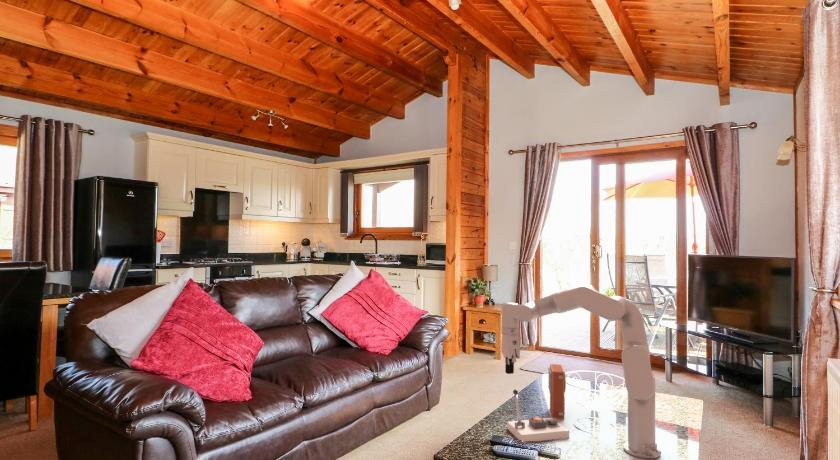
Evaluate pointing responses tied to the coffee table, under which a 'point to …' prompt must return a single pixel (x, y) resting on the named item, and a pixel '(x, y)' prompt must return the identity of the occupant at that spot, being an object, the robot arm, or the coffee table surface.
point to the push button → (537, 419)
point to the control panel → (557, 391)
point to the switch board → (537, 430)
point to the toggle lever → (517, 408)
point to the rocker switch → (552, 421)
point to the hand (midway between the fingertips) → (509, 373)
